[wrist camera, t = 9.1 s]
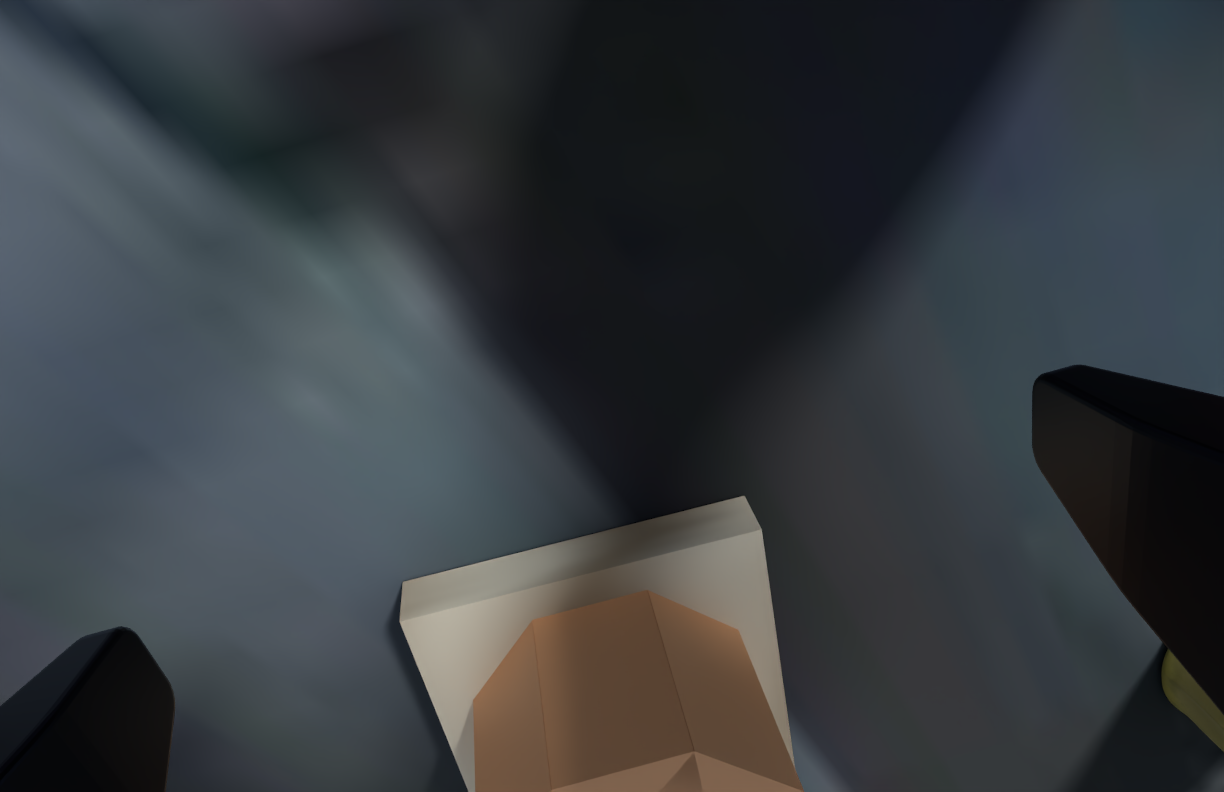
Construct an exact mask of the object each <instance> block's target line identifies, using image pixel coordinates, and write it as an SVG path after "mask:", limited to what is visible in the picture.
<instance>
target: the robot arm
mask: <svg viewBox="0 0 1224 792" xmlns="http://www.w3.org/2000/svg"><path fill="white" fill-rule="evenodd" d="M1032 448H1033V453H1034V457H1035V460H1036V463H1037V465H1038V467H1039V469H1040V470H1041V472H1042V474H1043V475H1044V477H1045V478H1046V480H1047V481H1048V483H1049V484H1050V486H1051V487H1052V489H1053V490H1054V492H1055V493H1056V495H1057V496H1058V498H1059V499H1060V501H1061V502H1062V504H1063V505H1064V507H1065V508H1066V510H1067V512H1068V513H1069V515H1070V516H1071V518H1072V519H1073V521H1074V522H1075V524H1076V525H1077V527H1078V528H1079V530H1080V531H1081V533H1082V534H1083V536H1084V537H1085V539H1086V540H1087V542H1088V543H1089V545H1090V546H1091V548H1092V549H1093V551H1094V552H1095V554H1096V555H1097V557H1098V558H1099V560H1100V562H1101V563H1102V565H1103V566H1104V568H1105V569H1106V571H1107V572H1108V573H1109V575H1110V576H1111V578H1112V579H1113V581H1114V582H1115V583H1116V585H1117V586H1118V588H1119V589H1120V590H1121V592H1122V593H1123V594H1124V596H1125V597H1126V598H1127V599H1128V601H1129V602H1130V603H1131V604H1132V606H1133V607H1134V608H1135V609H1136V611H1137V612H1138V613H1139V614H1140V616H1141V617H1142V618H1143V619H1144V620H1145V622H1146V623H1147V624H1148V625H1149V626H1150V628H1151V629H1152V630H1153V631H1154V632H1155V634H1156V635H1157V636H1158V637H1159V638H1160V639H1161V641H1162V642H1163V643H1164V644H1165V645H1166V647H1167V648H1168V649H1169V650H1170V651H1171V653H1172V654H1173V655H1174V656H1175V657H1176V659H1177V660H1178V661H1179V662H1180V663H1181V665H1182V666H1183V667H1184V668H1185V669H1186V671H1187V672H1188V673H1189V674H1190V675H1191V677H1192V678H1193V679H1194V680H1195V681H1196V683H1197V684H1198V685H1199V686H1200V687H1201V689H1202V690H1203V691H1204V692H1205V693H1206V695H1207V696H1208V697H1209V698H1210V699H1211V701H1212V702H1213V703H1214V704H1215V705H1216V707H1217V708H1218V709H1219V710H1220V711H1221V713H1222V714H1223V715H1224V397H1222V396H1217V395H1213V394H1209V393H1204V392H1200V391H1195V390H1191V389H1187V388H1182V387H1178V386H1173V385H1169V384H1165V383H1160V382H1156V381H1152V380H1147V379H1143V378H1138V377H1134V376H1130V375H1125V374H1121V373H1117V372H1112V371H1108V370H1103V369H1099V368H1095V367H1090V366H1086V365H1072V366H1069V367H1065V368H1061V369H1058V370H1054V371H1051V372H1047V373H1043V374H1041V375H1040V376H1039V377H1038V378H1037V379H1036V380H1035V382H1034V385H1033V391H1032ZM174 714H175V697H174V693H173V689H172V687H171V684H170V682H169V680H168V679H167V677H166V676H165V674H164V673H163V671H162V670H161V668H160V667H159V666H158V664H157V663H156V661H155V660H154V658H153V657H152V655H151V654H150V652H149V651H148V649H147V648H146V646H145V645H144V643H143V642H142V640H141V639H140V637H139V636H138V635H137V634H136V633H135V632H134V631H133V630H131V629H130V628H127V627H122V626H121V627H116V628H112V629H108V630H105V631H101V632H97V633H94V634H90V635H87V636H84V637H82V638H80V639H79V640H77V641H76V642H75V643H74V644H72V645H71V646H70V647H69V648H68V649H66V650H65V651H64V652H63V653H62V654H61V655H59V656H58V657H57V658H56V659H55V660H54V661H52V662H51V663H50V664H49V665H48V666H47V667H45V668H44V669H43V670H42V671H41V672H40V673H38V674H37V675H36V676H35V677H34V678H33V679H31V680H30V681H29V682H28V683H27V684H26V685H24V686H23V687H22V688H21V689H20V690H19V691H17V692H16V693H15V694H14V695H13V696H12V697H10V698H9V699H8V700H7V701H6V702H5V703H3V704H2V705H1V706H0V792H166V783H167V775H168V766H169V757H170V749H171V740H172V732H173V723H174Z"/></svg>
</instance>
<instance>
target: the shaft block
mask: <svg viewBox="0 0 1224 792" xmlns="http://www.w3.org/2000/svg"><path fill="white" fill-rule="evenodd" d="M645 590H649V591H651V592H653V593H656V594H658V595H660V596H663V597H665V598H667V599H669V600H672V601H674V602H676V603H678V604H681V605H683V606H685V607H688V608H690V609H692V610H694V611H697V612H699V613H701V614H704V615H706V616H708V617H710V618H713V619H715V620H717V621H719V622H722V623H724V624H726V625H729V626H731V627H733V628H735V629H738V630H739V633H740V635H741V637H742V640H743V642H744V645H745V647H746V650H747V652H748V655H749V657H750V660H751V662H752V665H753V667H754V669H755V672H756V674H757V677H758V679H759V682H760V684H761V687H762V689H763V692H764V694H765V697H766V699H767V702H768V704H769V706H770V709H771V711H772V714H773V716H774V719H775V721H776V724H777V726H778V729H779V731H780V734H781V736H782V738H783V741H784V743H785V746H786V748H787V751H788V753H789V756H790V758H791V761H792V763H793V766H794V768H795V765H794V758H793V751H792V744H791V736H790V729H789V722H788V715H787V708H786V700H785V693H784V686H783V679H782V672H781V665H780V657H779V650H778V643H777V636H776V629H775V621H774V614H773V607H772V600H771V593H770V586H769V578H768V571H767V564H766V557H765V550H764V543H763V535H762V529H761V527H760V525H759V523H758V521H757V519H756V517H755V515H754V513H753V512H752V510H751V508H750V506H749V504H748V502H747V500H746V498H745V496H741V497H737V498H733V499H729V500H725V501H721V502H717V503H713V504H709V505H705V506H701V507H697V508H693V509H689V510H686V511H682V512H678V513H674V514H670V515H666V516H662V517H658V518H654V519H650V520H646V521H642V522H638V523H634V524H630V525H626V526H622V527H618V528H614V529H610V530H606V531H602V532H598V533H595V534H591V535H587V536H583V537H579V538H575V539H571V540H567V541H563V542H559V543H555V544H551V545H547V546H543V547H539V548H535V549H531V550H527V551H523V552H519V553H515V554H511V555H507V556H504V557H500V558H496V559H492V560H488V561H484V562H480V563H476V564H472V565H468V566H464V567H460V568H456V569H452V570H448V571H444V572H440V573H436V574H432V575H428V576H424V577H420V578H417V579H413V580H409V581H405V582H403V585H402V597H401V610H400V624H401V627H402V629H403V631H404V634H405V636H406V639H407V641H408V644H409V646H410V649H411V651H412V654H413V656H414V659H415V661H416V664H417V666H418V668H419V671H420V673H421V676H422V678H423V681H424V683H425V686H426V688H427V691H428V693H429V696H430V698H431V700H432V703H433V705H434V708H435V710H436V713H437V715H438V718H439V720H440V723H441V725H442V728H443V730H444V732H445V735H446V737H447V740H448V742H449V745H450V747H451V750H452V752H453V755H454V757H455V760H456V762H457V765H458V767H459V769H460V772H461V774H462V777H463V779H464V782H465V784H466V787H467V789H468V792H475V760H474V716H473V700H474V698H475V697H476V696H477V694H478V693H479V692H480V690H481V689H482V687H483V686H484V685H485V683H486V682H487V681H488V679H489V678H490V677H491V675H492V674H493V673H494V671H495V670H496V668H497V667H498V666H499V664H500V663H501V662H502V660H503V659H504V658H505V656H506V655H507V654H508V652H509V651H510V650H511V648H512V647H513V645H514V644H515V643H516V641H517V640H518V639H519V637H520V636H521V635H522V633H523V632H524V631H525V629H526V628H527V627H528V625H529V624H530V622H531V621H532V620H534V619H538V618H542V617H545V616H549V615H553V614H557V613H561V612H564V611H568V610H572V609H576V608H580V607H584V606H587V605H591V604H595V603H599V602H603V601H606V600H610V599H614V598H618V597H622V596H626V595H629V594H633V593H637V592H641V591H645Z"/></svg>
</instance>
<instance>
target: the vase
mask: <svg viewBox="0 0 1224 792" xmlns="http://www.w3.org/2000/svg"><path fill="white" fill-rule="evenodd" d="M1161 677H1162V687H1163V690H1164V693H1165V695H1166V697H1167V698H1168V700H1169V701H1170V702H1171V704H1173V705H1174V706H1175V707H1176V708H1177V709H1179V710H1180V711H1181V712H1183V713H1184V714H1185V715H1187V716H1188V717H1189V718H1190V719H1191V720H1192V721H1193V722H1194V723H1195V724H1196V725H1197V726H1198V727H1199V728H1200V729H1201V730H1202V731H1203V732H1204V733H1205V734H1206V735H1207V736H1208V737H1209V738H1210V739H1211V740H1212V741H1213V742H1214V743H1215V744H1216V745H1217V746H1218V747H1219V748H1220V749H1221V750H1222V751H1223V752H1224V715H1223V714H1222V713H1221V711H1220V710H1219V709H1218V708H1217V707H1216V705H1215V704H1214V703H1213V702H1212V701H1211V699H1210V698H1209V697H1208V696H1207V695H1206V693H1205V692H1204V691H1203V690H1202V689H1201V687H1200V686H1199V685H1198V684H1197V683H1196V681H1195V680H1194V679H1193V678H1192V677H1191V675H1190V674H1189V673H1188V672H1187V671H1186V669H1185V668H1184V667H1183V666H1182V665H1181V663H1180V662H1179V661H1178V660H1177V659H1176V657H1175V656H1174V655H1173V654H1172V653H1171V651H1170V650H1169V649H1168V650H1167V652H1166V655H1165V657H1164V660H1163V664H1162V672H1161Z"/></svg>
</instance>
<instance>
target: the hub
mask: <svg viewBox="0 0 1224 792" xmlns="http://www.w3.org/2000/svg"><path fill="white" fill-rule="evenodd" d="M473 716H474V760H475V792H804V790H803V788H802V785H801V783H800V780H799V778H798V775H797V773H796V771H795V768H794V766H793V763H792V761H791V758H790V756H789V753H788V751H787V748H786V746H785V743H784V741H783V738H782V736H781V734H780V731H779V729H778V726H777V724H776V721H775V719H774V716H773V714H772V711H771V709H770V706H769V704H768V702H767V699H766V697H765V694H764V692H763V689H762V687H761V684H760V682H759V679H758V677H757V674H756V672H755V669H754V667H753V665H752V662H751V660H750V657H749V655H748V652H747V650H746V647H745V645H744V642H743V640H742V637H741V635H740V633H739V630H738V629H735V628H733V627H731V626H729V625H726V624H724V623H722V622H719V621H717V620H715V619H713V618H710V617H708V616H706V615H704V614H701V613H699V612H697V611H694V610H692V609H690V608H688V607H685V606H683V605H681V604H678V603H676V602H674V601H672V600H669V599H667V598H665V597H663V596H660V595H658V594H656V593H653V592H651V591H649V590H645V591H641V592H637V593H633V594H629V595H626V596H622V597H618V598H614V599H610V600H606V601H603V602H599V603H595V604H591V605H587V606H584V607H580V608H576V609H572V610H568V611H564V612H561V613H557V614H553V615H549V616H545V617H542V618H538V619H534V620H532V621H531V622H530V624H529V625H528V627H527V628H526V629H525V631H524V632H523V633H522V635H521V636H520V637H519V639H518V640H517V641H516V643H515V644H514V645H513V647H512V648H511V650H510V651H509V652H508V654H507V655H506V656H505V658H504V659H503V660H502V662H501V663H500V664H499V666H498V667H497V668H496V670H495V671H494V673H493V674H492V675H491V677H490V678H489V679H488V681H487V682H486V683H485V685H484V686H483V687H482V689H481V690H480V692H479V693H478V694H477V696H476V697H475V698H474V700H473Z"/></svg>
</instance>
